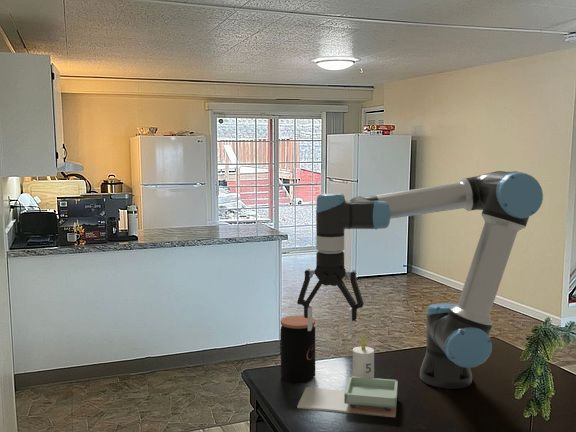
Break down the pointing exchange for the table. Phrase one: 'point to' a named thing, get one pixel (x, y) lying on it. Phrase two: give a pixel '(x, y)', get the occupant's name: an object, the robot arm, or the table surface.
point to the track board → (337, 403)
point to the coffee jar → (297, 349)
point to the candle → (363, 360)
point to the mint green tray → (371, 392)
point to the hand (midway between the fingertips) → (330, 330)
